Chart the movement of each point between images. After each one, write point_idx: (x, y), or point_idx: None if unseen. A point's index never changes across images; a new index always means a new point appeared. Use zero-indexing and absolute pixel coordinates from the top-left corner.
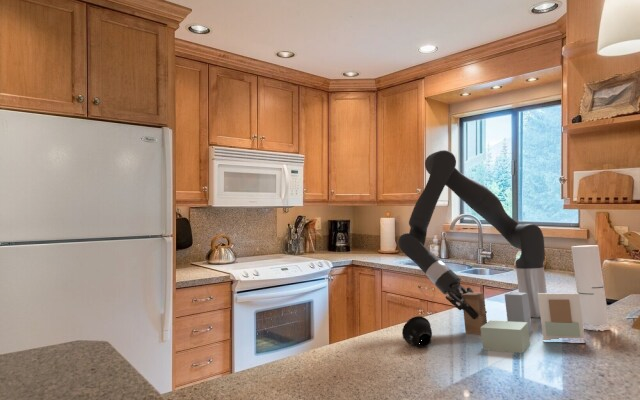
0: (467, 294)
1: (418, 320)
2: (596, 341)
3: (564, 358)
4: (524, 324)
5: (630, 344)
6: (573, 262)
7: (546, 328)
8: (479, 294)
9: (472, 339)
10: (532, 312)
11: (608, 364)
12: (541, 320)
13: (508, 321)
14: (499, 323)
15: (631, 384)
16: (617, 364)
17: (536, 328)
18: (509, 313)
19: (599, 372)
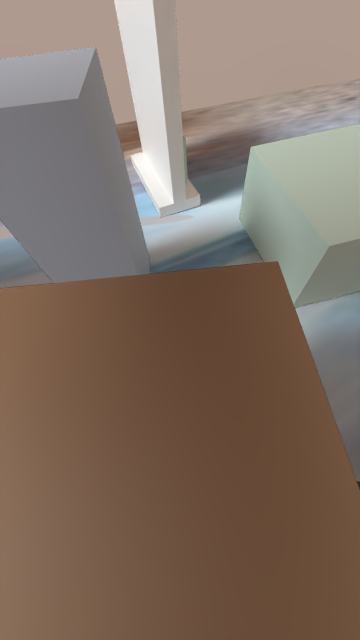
0: (341, 566)
1: None
2: (127, 154)
3: None
4: (294, 139)
5: (126, 125)
6: None
7: (185, 161)
8: (147, 277)
9: (335, 386)
10: None
11: (286, 108)
12: (182, 141)
13: (285, 186)
14: (353, 190)
15: (357, 79)
16: (275, 104)
17: (8, 284)
18: (129, 233)
19: (341, 102)
